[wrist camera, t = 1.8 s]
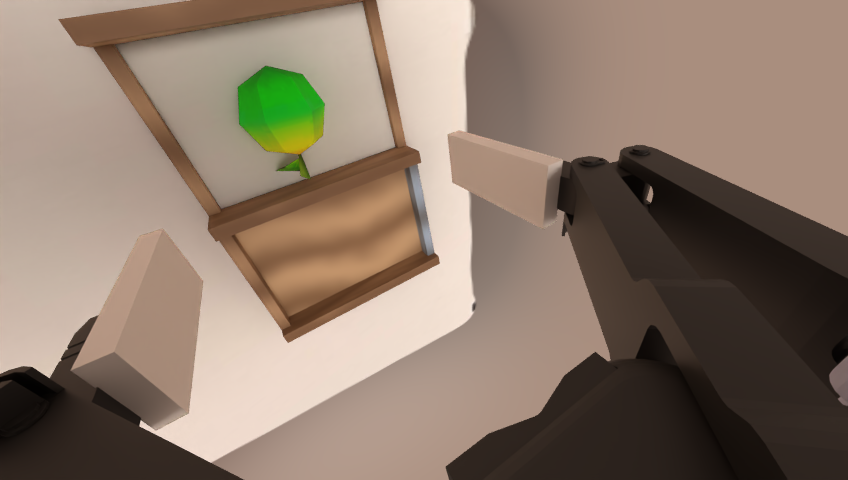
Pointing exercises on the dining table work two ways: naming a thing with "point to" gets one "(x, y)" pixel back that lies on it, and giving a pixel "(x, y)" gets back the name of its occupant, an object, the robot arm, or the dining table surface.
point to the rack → (300, 202)
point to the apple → (281, 113)
